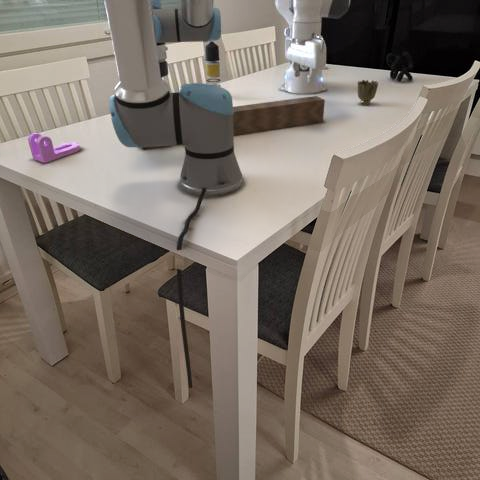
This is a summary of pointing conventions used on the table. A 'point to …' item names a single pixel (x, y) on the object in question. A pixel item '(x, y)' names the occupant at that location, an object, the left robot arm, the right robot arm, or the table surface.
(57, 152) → the bracket
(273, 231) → the table surface
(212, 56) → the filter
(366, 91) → the cup
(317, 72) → the right robot arm
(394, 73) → the squiggle
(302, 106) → the post
